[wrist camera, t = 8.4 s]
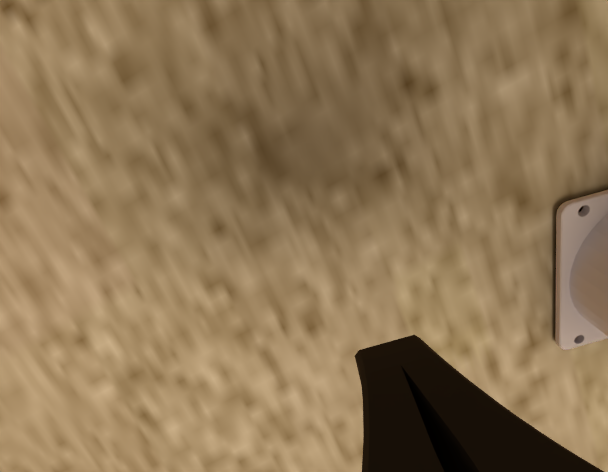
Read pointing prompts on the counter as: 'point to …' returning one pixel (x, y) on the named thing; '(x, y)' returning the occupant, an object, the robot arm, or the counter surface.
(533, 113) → the counter surface
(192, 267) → the counter surface
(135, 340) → the counter surface
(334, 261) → the counter surface
